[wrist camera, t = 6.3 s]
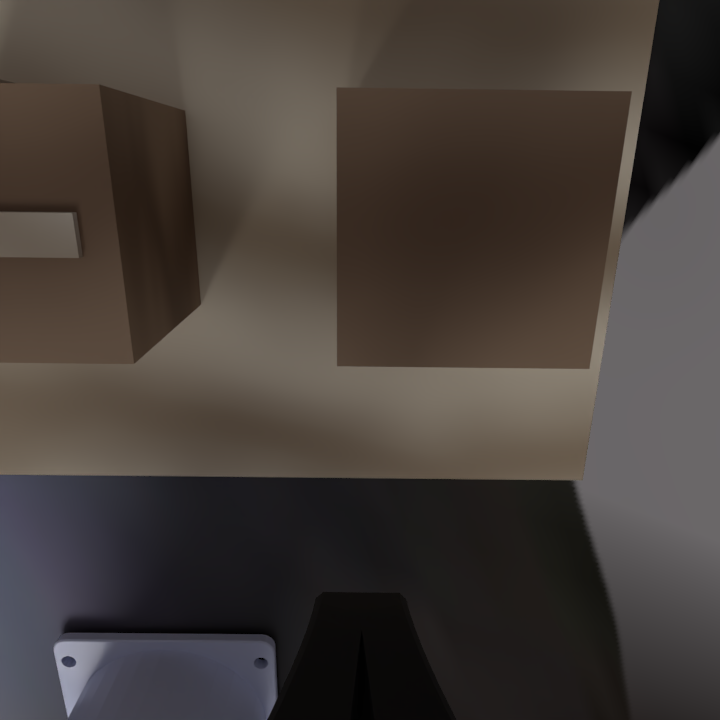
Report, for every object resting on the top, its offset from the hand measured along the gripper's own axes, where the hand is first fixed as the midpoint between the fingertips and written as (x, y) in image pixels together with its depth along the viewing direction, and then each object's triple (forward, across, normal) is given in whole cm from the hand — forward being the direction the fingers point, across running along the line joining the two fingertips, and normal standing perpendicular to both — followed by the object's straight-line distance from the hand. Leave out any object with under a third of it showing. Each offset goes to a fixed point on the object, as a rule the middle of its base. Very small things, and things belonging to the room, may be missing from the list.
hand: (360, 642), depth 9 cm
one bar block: (+8, +7, -6) cm, 12 cm away
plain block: (+8, -2, -6) cm, 11 cm away
